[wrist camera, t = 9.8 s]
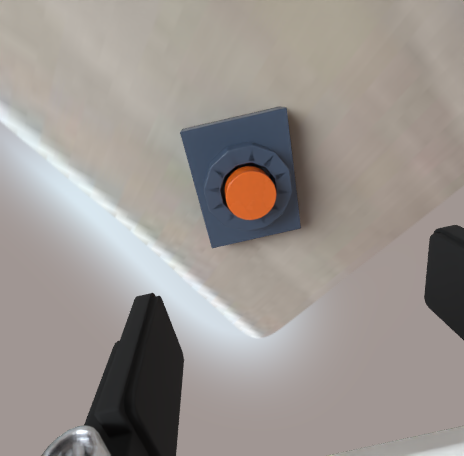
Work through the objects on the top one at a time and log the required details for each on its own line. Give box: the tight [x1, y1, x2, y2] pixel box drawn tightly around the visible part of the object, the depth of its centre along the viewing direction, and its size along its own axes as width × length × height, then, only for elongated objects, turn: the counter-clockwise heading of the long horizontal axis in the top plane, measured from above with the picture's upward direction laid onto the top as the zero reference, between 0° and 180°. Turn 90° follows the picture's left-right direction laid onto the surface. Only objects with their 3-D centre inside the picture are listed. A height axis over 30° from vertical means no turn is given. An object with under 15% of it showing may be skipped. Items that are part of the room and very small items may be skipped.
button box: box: [180, 107, 301, 248], centre depth 23 cm, size 10×8×4 cm
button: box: [225, 166, 276, 220], centre depth 21 cm, size 4×4×2 cm
